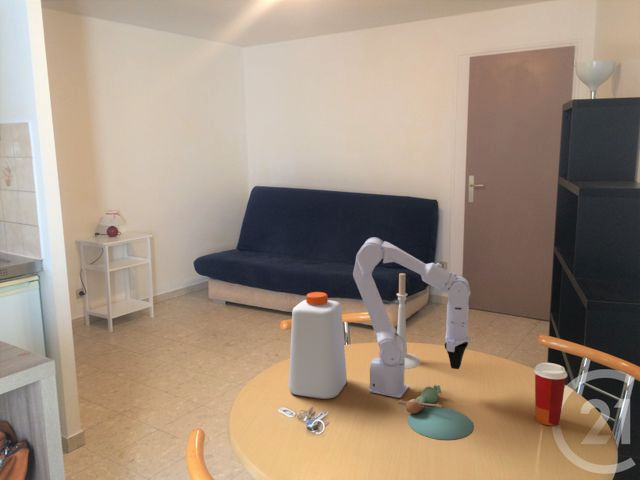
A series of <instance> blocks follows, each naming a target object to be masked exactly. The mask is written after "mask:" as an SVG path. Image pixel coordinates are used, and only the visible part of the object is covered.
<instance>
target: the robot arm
mask: <svg viewBox="0 0 640 480" xmlns="http://www.w3.org/2000/svg"><path fill="white" fill-rule="evenodd" d="M382 260H383V261H382ZM381 261H382V264H388V263H395V264H398V265H400V266H403V267H404V268H406V269H409V270H410V271H412V272H414V273H417V274H418V275H420V277H421V281H423V282H424V283H425V284H428V285H430V286H431V287H433V288H435V289H437V290H439V291H441V292H443V293H447V295H448V299H447V301H448V302H447V304H446V324H445V325H446V327H445V336H444V337H445V343H444V349H445V350H446V352H447V356H448V359H449V364H450V369H452V370H454V369H455V370H460V368H461V365H462V361H463V357H464V354H465V351H466V349H467V347H468V346H469V342H472V340H473V337H472V336H469V335H468V331H469V310H470V309H469V308H470V305H469V301H470V300H469V298H470V296H471V292H472V291H471V288H470V283H469V281H468V279H466V278H465V277H464V276H463V275H462V274H458V273H457V272H451V271H450V270H447V269H446V268H443V267H442V266H443V265H442V264H441V263H439V262H437V263H434V262H430V263H425V262H424V261H422V260H420V259H418V258H416V257H414V256H413V255H411V254H409V253H407V252H406V251H404V250H403V249H401V248H399V247H398V246H396V245H394V244H392V243H391V242H388V241H385V240H384V241H383V240H382V239H380V238H379V237H375V236H374V237H369V238H368V239H366V240H365V242H364V243H363V245H362V246H361V247H360V249H359V250H358V251H357V253H356V256H355V262H354V267H353V272H352V276H353V280H354V282H355V284H356V286H357V290H358V291H359V294H360V296H361V298H362V301H363V304H364V307H365V308H366V311H367V314H368V316H369V318H370V321H371V323H372V325H373V326H372V327H373V328H374V330H375V331H374V332H375V333H376V340H377V341H376V342H377V344H378V347H379V357H373V358H372V360H371V363H370V368H369V389H368V392H369V393H374V394H377V395H382V396H389V397H393V398H398V399H401V398H402V397H403V395H404V394H405V393H406V392H407V391H408V389H409V387H410V386H409V385H408V384H405V370H406V369H405V359H404V358H403V356H402V351H403V347H404V341H403V339H402V337H401V336H400V335H398V333H397V330H396V328H395V326H393V324H392V322H391V320H390V317H389V314H388V312H387V309H386V308H385V304H384V302H383V300H382V297H381V295H380V292H379V289H378V288H377V284H376V282H375V280H374V278H373V275H372V273H373V271H374V269H375V267H376V266H378V264H379V263H380V262H381Z"/></svg>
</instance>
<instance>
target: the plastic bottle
mask: <svg viewBox="0 0 640 480" xmlns="http://www.w3.org/2000/svg"><path fill="white" fill-rule="evenodd" d="M328 296H329V295H328V294H327V293H326V292H321V291H314V292H312V291H311V292H309V293H307V294H306V297H305V298H306V299H304V300H302V301H301V302H299V303H298V304H297V305H296V306H294V307H293V308H292V311H291V314H292V315H291V332H290V349H289V350H290V353H289V372H288V390H289V391H290V393H291V394H293V395H296V396H299V397H300V396H301V397H308V398H314V399H321V400H330V399H333V398H336V397H338V395H339V394H340V392H342V390H343V388H344V386H345V385H346V384H347V381H348V378H347V377H348V375H347V367H346V366H347V363H346V353H345V352H346V350H345V339H344V337H345V335H344V326H343V325H344V324H343V312H342V311H343V310H342V304H341V303H340V302H339V301H336V300H331V299H329V297H328ZM328 299H329V300H328Z"/></svg>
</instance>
